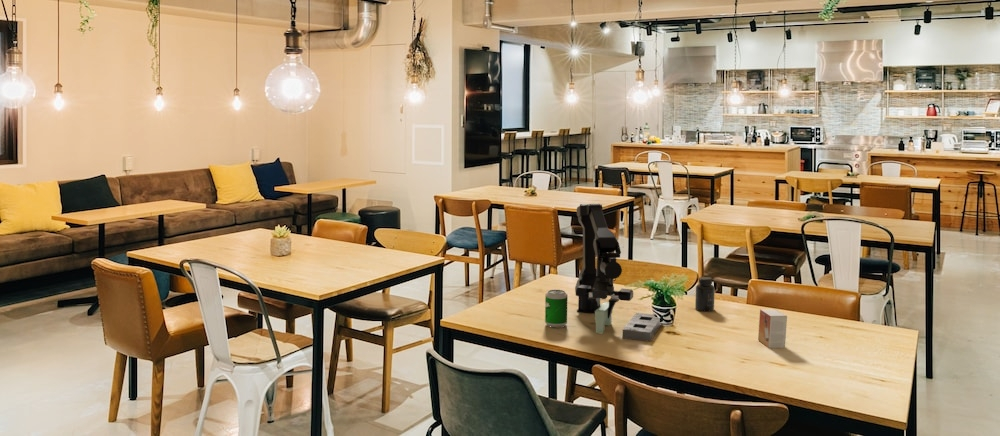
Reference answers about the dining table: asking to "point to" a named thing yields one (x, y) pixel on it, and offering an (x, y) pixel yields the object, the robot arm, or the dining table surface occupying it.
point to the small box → (772, 328)
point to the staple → (602, 317)
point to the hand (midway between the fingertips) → (603, 317)
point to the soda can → (556, 308)
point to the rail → (641, 327)
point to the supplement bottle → (705, 295)
